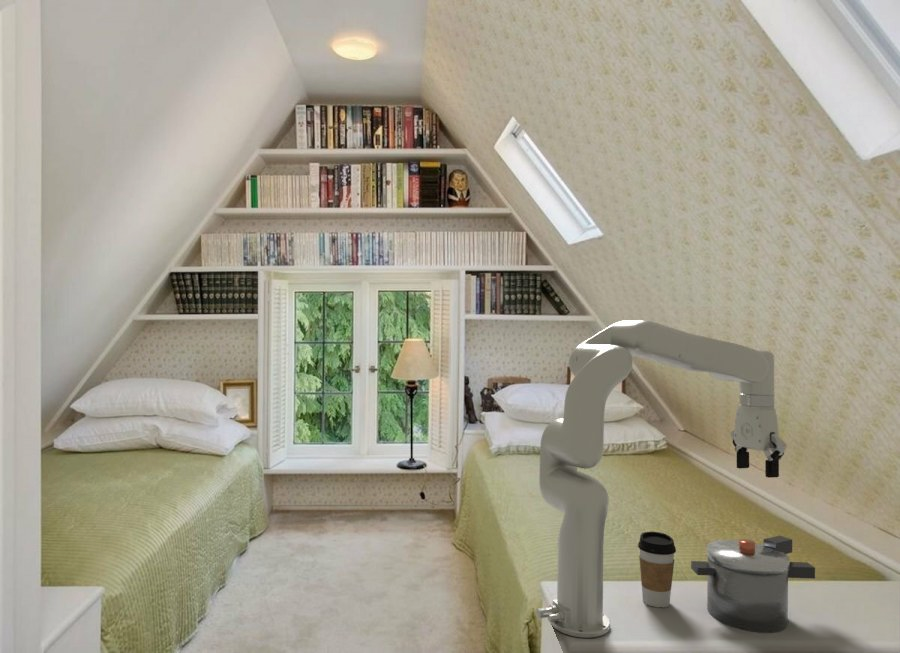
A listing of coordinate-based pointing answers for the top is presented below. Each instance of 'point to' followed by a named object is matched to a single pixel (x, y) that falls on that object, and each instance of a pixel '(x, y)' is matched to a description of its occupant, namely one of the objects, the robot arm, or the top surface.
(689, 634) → the top surface
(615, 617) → the top surface
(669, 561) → the coffee cup
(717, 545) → the cooker lid
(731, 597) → the cooker pot
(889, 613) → the top surface
